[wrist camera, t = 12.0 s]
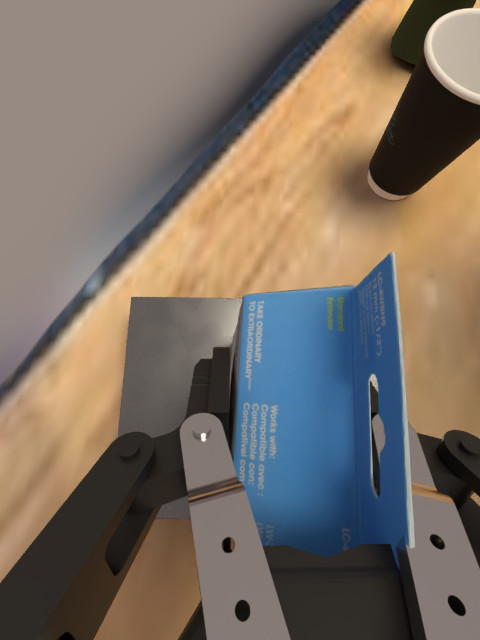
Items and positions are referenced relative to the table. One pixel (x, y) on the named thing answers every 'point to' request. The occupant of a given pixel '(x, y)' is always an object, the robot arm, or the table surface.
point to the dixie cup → (433, 109)
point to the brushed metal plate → (171, 364)
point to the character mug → (421, 25)
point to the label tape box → (322, 415)
